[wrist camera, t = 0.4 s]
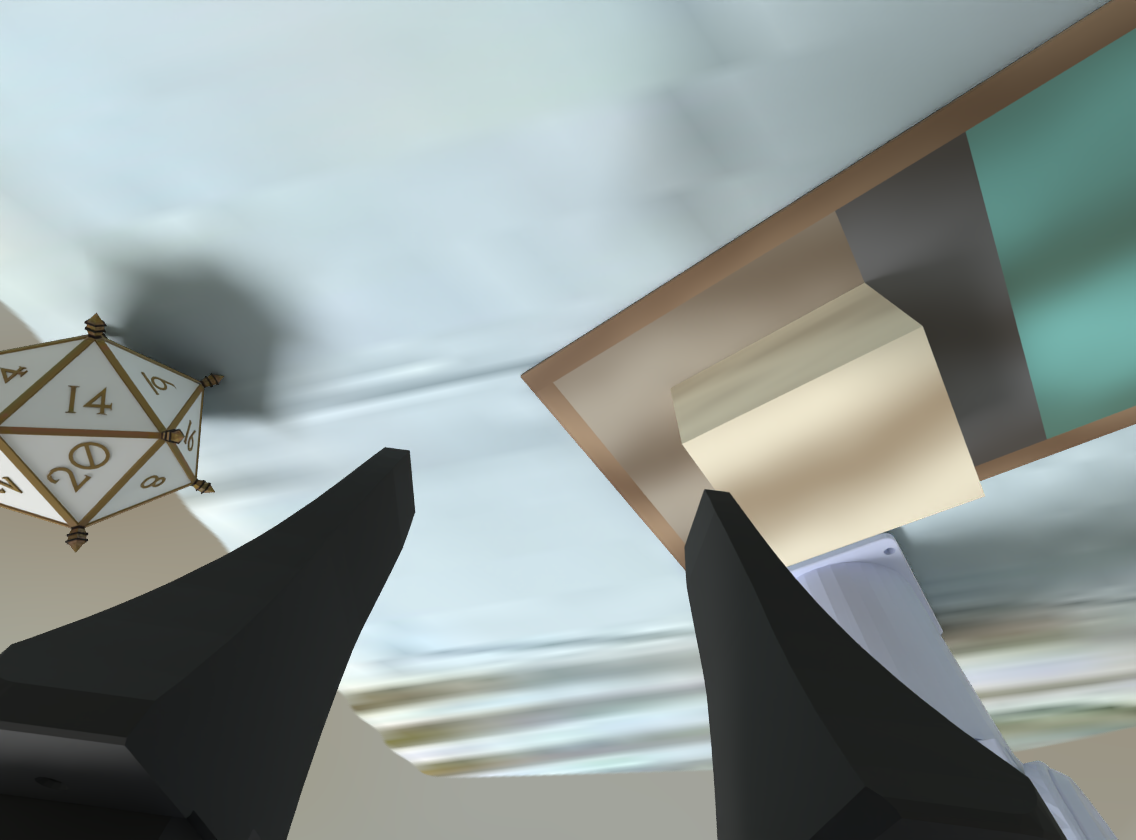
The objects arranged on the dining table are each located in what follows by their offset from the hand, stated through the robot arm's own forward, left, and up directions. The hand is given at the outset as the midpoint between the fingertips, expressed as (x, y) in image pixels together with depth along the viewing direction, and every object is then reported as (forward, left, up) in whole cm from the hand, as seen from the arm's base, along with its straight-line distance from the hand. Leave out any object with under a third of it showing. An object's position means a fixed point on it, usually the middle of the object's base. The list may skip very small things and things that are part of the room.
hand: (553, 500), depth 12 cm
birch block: (-8, -6, -9) cm, 14 cm away
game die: (+9, +17, -10) cm, 21 cm away
